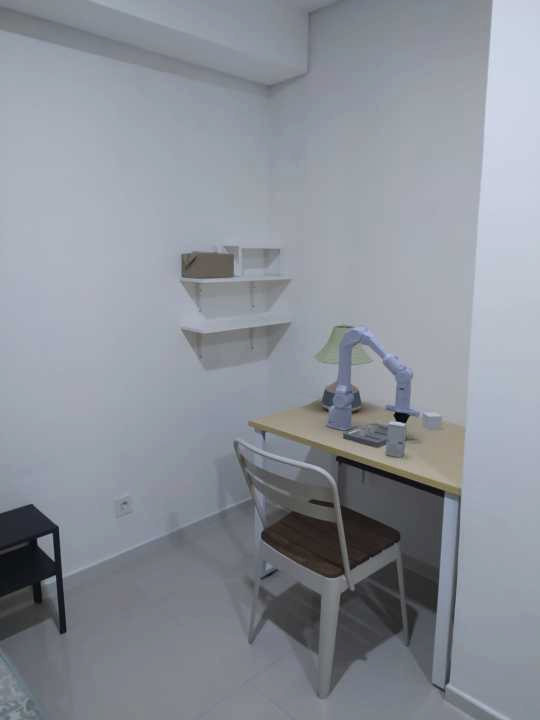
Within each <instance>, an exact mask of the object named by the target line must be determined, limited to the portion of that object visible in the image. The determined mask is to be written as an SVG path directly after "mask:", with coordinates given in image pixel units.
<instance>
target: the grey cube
mask: <svg viewBox="0 0 540 720" xmlns="http://www.w3.org/2000/svg"><path fill="white" fill-rule="evenodd" d="M442 421H443V416H442V415H440V414H439V413H438V412H422V421H421V426H422V427H423V428H424V429H426V430H427V431H434V430H435V431H437V430H438V431H439V430H442Z"/></svg>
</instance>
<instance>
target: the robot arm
mask: <svg viewBox="0 0 540 720" xmlns="http://www.w3.org/2000/svg"><path fill="white" fill-rule="evenodd" d="M358 343H360V344H361V346H368V347H370V349H371V350H373V352H375V354H377V355H378V356H379V357H380V358H381V359H382V364H383V366H384V367H385V368H387V370H388V371H389V372H390V373H391V374H392V375H393V376H394V380H395V382H396V387H395V402H394V405H390V404H387V405H385V406H384V411H388V412H389V411H390V412H393V417H394V419H395V421H396V422H401V423H406V424H407V421H408V420H409V418H410V417H411V416H413V417H415V418H418V417H420V414H421V412H420V411H418V410H414V409H413V408H411V391H412V379H413V377H414V372H413V370H412V369H411V368H410V367H408V366H407V365H406V364H404V363H403V362H402V361H401V360H400V359H399V356H398V355H396V354H394V353H390V352H388V351H387V350H386V349H385V347H384V346H383V345H382V344H381V342H380V341H379V340H378V339H377V338H376V337H375V336H374V334H373V333H372V332H371V331H370V330H368V328H367V327H366V326H363V325H360V326H359V325H358V326H357V327H355V328H352V329H350V330H348V331H347V332H346V333H345V336H344V337H343V339H342V340H341V342H340V344H339V364H338V374H337V378H338V386H337V388H336V390H335V396H334V397H333V404H334V405H333V406H331V407H330V409H329V410H328V414H327V416H328V418H327V424H326V427H328V428H331V429H335V430H339V431H343V432H346V431H349V430H351V429H354V428H356V425H352V413H353V412H352V406H351V403H352V402H353V401H354V395H353V392H352V387H351V384H352V382H351V381H352V365H351V358H352V348H353V347H354V346H355V345H357V344H358Z"/></svg>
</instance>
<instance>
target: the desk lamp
mask: <svg viewBox="0 0 540 720" xmlns="http://www.w3.org/2000/svg"><path fill="white" fill-rule="evenodd" d="M352 328H356V327H355V326H352V325H347V323H345V322H344V323H342V325H334V326H333V327H332V331H331V333H330V335H329V338H328V339H327V342H326V343H325V344H324V346H323V347H322V349H321V350H319V352H318V353H316V354H315V355H314V357H313V358H314V359H315V360H316V361H318V362H319V363H323V364H330V365H339V344H340V342H341V340H342V339H343V337H344V336H345V333H346V332H347V331H348V330H350V329H352ZM360 343H361V342H360ZM360 343H358V344H357V345H355V346H354V347H353V348H352V358H351V366H358V365H365V364H370V363H373V362H374V359H373V358H371V357H370V356H369V354H368V353H367V352H366V350H365V349H364V347H363V345H362V344H360ZM336 379H337V380H336V381H334V382H332V383H330V384H329V385H326V387H325V388H324V391H323V394H322V395H323V396H322V399H321V406H322V407H323V408H324V409H326V410H328V411H329V409H330V407H331V406H333V405H334V404H333V397H334V396H335V390H336V388H337V386H338V377H337V378H336ZM351 387H352V392H353V395H354V401H353V402H352V403H351V406H352V413H353V412H355V411H357V410H358V409H359V410H360V409H361V407H362V400H361V393H360V390H359V388H358V387H356V386H355V385H354V384H352V383H351Z"/></svg>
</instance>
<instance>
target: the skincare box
mask: <svg viewBox="0 0 540 720" xmlns="http://www.w3.org/2000/svg"><path fill="white" fill-rule="evenodd" d="M395 421H396V420H395ZM395 421H393V420H391V421H389V423H387V426H388V432H387V444H385V445H386V446H385V455H386V456H390V457H396V458H402V457H403V456H404V455H405V451H406V450H405V449H406V448H405V447H406V437H407V433H406V431H407V426H408V423H407V422H406V423H401V422H395Z"/></svg>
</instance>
